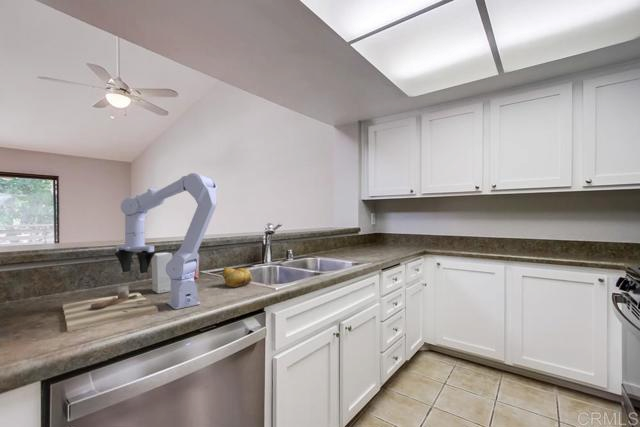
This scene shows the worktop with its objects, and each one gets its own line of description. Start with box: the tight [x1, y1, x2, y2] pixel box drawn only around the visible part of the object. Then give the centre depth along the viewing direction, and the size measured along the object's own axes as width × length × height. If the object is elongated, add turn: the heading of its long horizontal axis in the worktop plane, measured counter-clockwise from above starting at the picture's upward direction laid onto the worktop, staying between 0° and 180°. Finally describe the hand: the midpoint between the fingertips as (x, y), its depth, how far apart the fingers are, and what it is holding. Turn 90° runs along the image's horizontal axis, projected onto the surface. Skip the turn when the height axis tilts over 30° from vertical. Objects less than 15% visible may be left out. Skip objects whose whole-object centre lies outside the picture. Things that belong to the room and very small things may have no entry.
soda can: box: [194, 251, 200, 283], centre depth 130 cm, size 7×7×13 cm
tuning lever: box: [91, 283, 137, 309], centre depth 94 cm, size 14×3×5 cm, turn 159°
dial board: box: [62, 291, 159, 332], centre depth 91 cm, size 26×21×1 cm
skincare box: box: [150, 252, 173, 294], centre depth 114 cm, size 8×6×15 cm
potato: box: [222, 266, 253, 288], centre depth 124 cm, size 13×10×8 cm
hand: (135, 272), depth 100 cm, fingers open, 7 cm apart
